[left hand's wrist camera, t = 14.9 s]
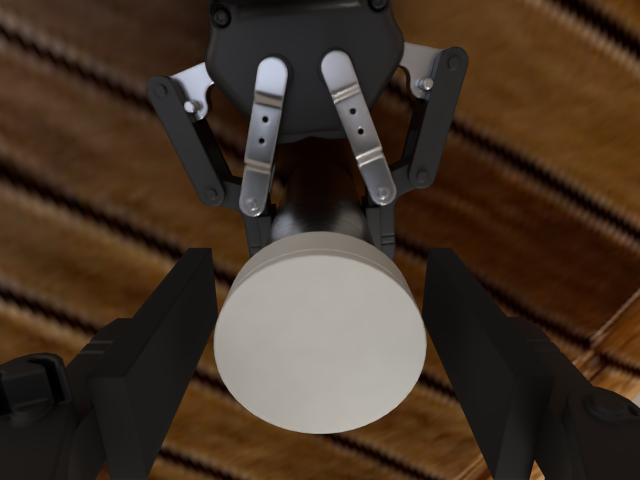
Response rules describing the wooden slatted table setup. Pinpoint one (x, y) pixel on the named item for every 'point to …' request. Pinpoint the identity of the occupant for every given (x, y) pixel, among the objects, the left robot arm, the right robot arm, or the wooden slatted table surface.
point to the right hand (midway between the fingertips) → (325, 271)
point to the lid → (320, 334)
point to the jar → (319, 203)
